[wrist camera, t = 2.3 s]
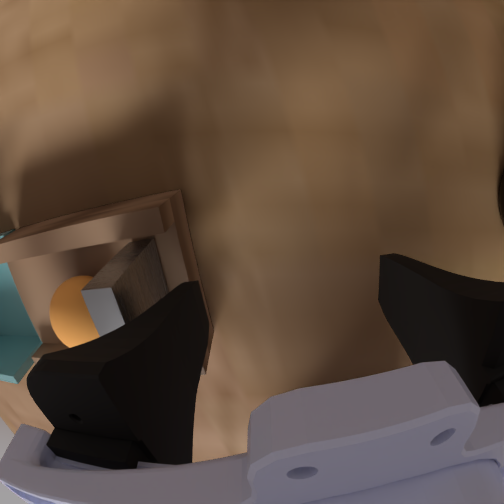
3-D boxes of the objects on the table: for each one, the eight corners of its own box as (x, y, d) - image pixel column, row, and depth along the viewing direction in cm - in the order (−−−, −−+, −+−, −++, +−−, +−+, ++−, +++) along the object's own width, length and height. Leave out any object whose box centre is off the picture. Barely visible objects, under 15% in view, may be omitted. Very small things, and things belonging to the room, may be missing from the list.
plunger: (154, 238, 12) (111, 287, 8) (182, 335, 14) (161, 402, 10) (129, 242, 12) (80, 290, 8) (159, 336, 14) (133, 401, 10)
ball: (118, 258, 13) (83, 296, 10) (141, 322, 14) (116, 369, 11) (62, 267, 13) (24, 301, 10) (86, 325, 14) (57, 366, 11)
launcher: (180, 189, 14) (158, 206, 11) (213, 331, 17) (205, 374, 14) (19, 228, 15) (-18, 249, 11) (62, 338, 17) (38, 369, 14)
